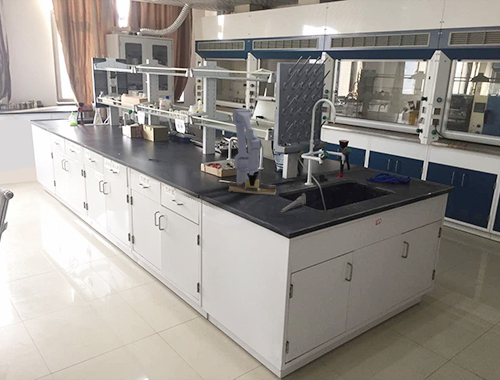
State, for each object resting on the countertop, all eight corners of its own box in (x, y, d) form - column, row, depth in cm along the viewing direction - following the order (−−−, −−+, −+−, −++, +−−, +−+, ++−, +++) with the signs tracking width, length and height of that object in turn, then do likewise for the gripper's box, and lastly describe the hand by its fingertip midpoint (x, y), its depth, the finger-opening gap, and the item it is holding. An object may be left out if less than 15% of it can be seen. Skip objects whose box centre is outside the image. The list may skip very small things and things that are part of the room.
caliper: (303, 204, 213) (304, 192, 212) (305, 204, 213) (306, 192, 211) (280, 212, 198) (280, 200, 197) (282, 213, 198) (282, 200, 196)
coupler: (246, 187, 234) (246, 178, 232) (258, 188, 233) (259, 179, 231) (245, 188, 230) (245, 180, 228) (257, 189, 229) (258, 181, 228)
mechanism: (230, 188, 237) (231, 179, 235) (276, 191, 233) (276, 182, 232) (228, 191, 230) (228, 182, 229) (274, 194, 227) (275, 186, 225)
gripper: (248, 158, 234) (247, 181, 238) (244, 163, 221) (243, 187, 224) (260, 158, 234) (259, 182, 237) (257, 163, 220) (256, 188, 223)
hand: (252, 184), depth 231 cm, fingers closed on coupler, 4 cm apart
